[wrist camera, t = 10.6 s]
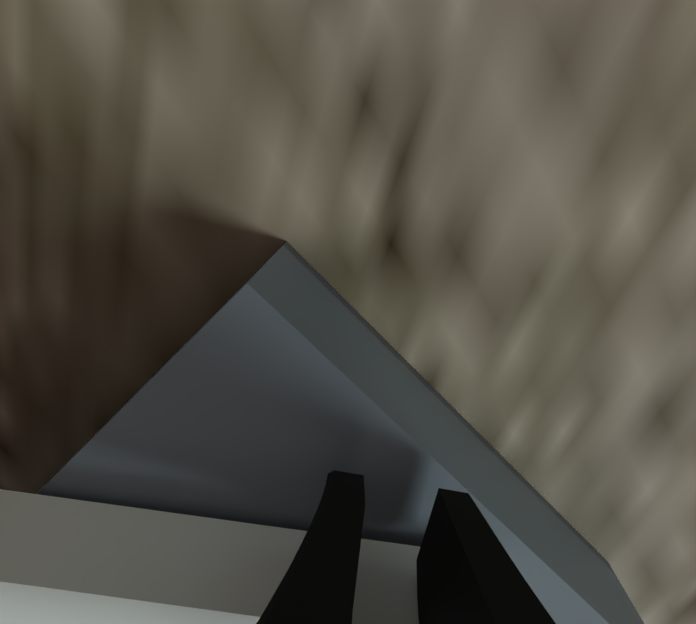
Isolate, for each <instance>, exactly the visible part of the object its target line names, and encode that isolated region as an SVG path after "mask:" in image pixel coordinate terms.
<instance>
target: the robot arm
mask: <svg viewBox="0 0 696 624" xmlns="http://www.w3.org/2000/svg"><path fill="white" fill-rule="evenodd" d="M364 512H365V487H364V475H359V474H353V473H348V472H342V471H336V470H334V471H332V472H330V473H328V475H327V481H326V485H325V489H324V492H323V495H322V498H321V501H320V503H319V506H318V509H317V511H316V513H315V516H314V518H313V520H312V523H311V525H310V527H309V529H308V531H307V533H306V535H305V537H304V539H303V541H302V543H301V545H300V547H299V549H298V551H297V553H296V555H295V557H294V559H293V561H292V563H291V565H290V567H289V569H288V570H287V572H286V574H285V576H284V577H283V579H282V581H281V583H280V584H279V586H278V588H277V590H276V591H275V593H274V595H273V596H272V598H271V600H270V602H269V603H268V605H267V607H266V609H265V610H264V612H263V614H262V615H261V617H260V618H259V620H258V622H257V623H256V624H352V614H353V605H354V596H355V588H356V579H357V571H358V562H359V554H360V546H361V537H362V529H363V520H364ZM416 563H417V596H418V618H419V624H556V623H555V622H554V620H553V619H552V617H551V616H550V615H549V613H548V612H547V610H546V609H545V607H544V606H543V605H542V603H541V602H540V600H539V599H538V597H537V596H536V595H535V593H534V592H533V590H532V589H531V587H530V586H529V584H528V583H527V582H526V580H525V579H524V577H523V576H522V574H521V573H520V571H519V570H518V568H517V567H516V565H515V564H514V562H513V561H512V559H511V558H510V556H509V555H508V553H507V552H506V550H505V549H504V547H503V546H502V544H501V542H500V541H499V539H498V538H497V536H496V535H495V533H494V532H493V530H492V529H491V527H490V525H489V524H488V522H487V521H486V519H485V518H484V516H483V515H482V513H481V511H480V510H479V508H478V507H477V505H476V504H475V502H474V501H473V499H472V498H471V496H470V495H469V493H465V492H459V491H453V490H447V489H441V488H439V489H438V492H437V495H436V499H435V502H434V505H433V508H432V511H431V515H430V518H429V521H428V524H427V528H426V531H425V534H424V537H423V540H422V544H421V547H420V550H419V553H418V556H417V560H416Z"/></svg>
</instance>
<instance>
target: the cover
mask: <svg viewBox="0 0 696 624" xmlns="http://www.w3.org/2000/svg"><path fill="white" fill-rule="evenodd" d="M306 533H307V531H303V530H295V529H288V528H281V527H273V526H266V525H259V524H252V523H244V522H237V521H230V520H222V519H215V518H208V517H200V516H193V515H186V514H178V513H171V512H164V511H156V510H149V509H142V508H134V507H127V506H120V505H112V504H105V503H98V502H90V501H83V500H76V499H68V498H61V497H54V496H46V495H39V494H32V493H25V492H17V491H10V490H3V489H0V624H256V623H257V622H258V620H259V618H260V617H261V615H262V614H263V612H264V610H265V609H266V607H267V605H268V603H269V602H270V600H271V598H272V596H273V595H274V593H275V591H276V590H277V588H278V586H279V584H280V583H281V581H282V579H283V577H284V576H285V574H286V572H287V570H288V569H289V567H290V565H291V563H292V561H293V559H294V557H295V555H296V553H297V551H298V549H299V547H300V545H301V543H302V541H303V539H304V537H305V535H306ZM419 550H420V546H413V545H405V544H398V543H391V542H383V541H376V540H369V539H361V546H360V554H359V562H358V571H357V579H356V588H355V596H354V605H353V614H352V624H419V618H418V596H417V563H416V560H417V556H418V553H419Z"/></svg>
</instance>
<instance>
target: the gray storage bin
mask: <svg viewBox="0 0 696 624" xmlns="http://www.w3.org/2000/svg"><path fill="white" fill-rule="evenodd" d="M334 470H336V471H342V472H348V473H353V474H359V475H364V487H365V512H364V520H363V529H362V537H361V539H369V540H376V541H383V542H391V543H398V544H405V545H413V546H420V547H421V544H422V540H423V537H424V534H425V531H426V528H427V524H428V521H429V518H430V515H431V511H432V508H433V505H434V502H435V499H436V495H437V492H438V489H439V488H441V489H447V490H453V491H459V492H465V493H469V495H470V496H471V498H472V499H473V501H474V502H475V504H476V505H477V507H478V508H479V510H480V511H481V513H482V515H483V516H484V518H485V519H486V521H487V522H488V524H489V525H490V527H491V529H492V530H493V532H494V533H495V535H496V536H497V538H498V539H499V541H500V542H501V544H502V546H503V547H504V549H505V550H506V552H507V553H508V555H509V556H510V558H511V559H512V561H513V562H514V564H515V565H516V567H517V568H518V570H519V571H520V573H521V574H522V576H523V577H524V579H525V580H526V582H527V583H528V584H529V586H530V587H531V589H532V590H533V592H534V593H535V595H536V596H537V597H538V599H539V600H540V602H541V603H542V605H543V606H544V607H545V609H546V610H547V612H548V613H549V615H550V616H551V617H552V619H553V620H554V622H555V623H556V624H644V623H643V621H642V619H641V618H640V616H639V614H638V612H637V611H636V609H635V607H634V606H633V604H632V602H631V600H630V599H629V597H628V595H627V594H626V592H625V590H624V588H623V587H622V585H621V583H620V582H619V580H618V578H617V576H616V575H615V573H614V571H613V570H612V568H611V566H610V564H609V563H608V562H607V561H606V560H605V559H604V558H603V557H602V556H601V555H600V554H599V553H598V552H597V551H596V550H595V549H594V548H593V547H592V546H591V545H590V544H589V543H588V542H587V541H586V540H585V539H584V538H583V537H582V536H581V535H580V534H579V533H578V532H577V531H576V530H575V529H574V528H573V527H572V526H571V525H570V524H569V523H568V522H567V521H566V520H565V519H564V518H563V517H562V516H561V515H560V514H559V513H558V512H557V511H556V510H555V509H554V508H553V507H552V506H551V505H550V504H549V503H548V502H547V501H546V500H545V499H544V498H543V497H542V496H541V495H540V494H539V493H538V492H537V491H536V490H535V489H534V488H533V487H532V486H531V485H530V484H529V483H528V482H527V481H526V480H525V479H524V478H523V477H522V476H521V475H520V474H519V473H518V472H517V471H516V470H515V469H514V468H513V467H512V466H511V465H510V464H509V463H508V462H507V461H506V460H505V459H504V458H503V457H502V456H501V455H500V454H499V453H498V452H497V451H496V450H495V449H494V448H493V447H492V446H491V445H490V444H489V443H488V442H487V441H486V440H485V439H484V438H483V437H482V436H481V435H480V434H479V433H478V432H477V431H476V430H475V429H474V428H473V427H472V426H471V425H470V424H469V423H468V422H467V421H466V420H465V419H464V418H463V417H462V416H461V415H460V414H459V413H458V412H457V411H456V410H455V409H454V408H453V407H452V406H451V405H450V404H449V403H448V402H447V401H446V400H445V399H444V398H443V397H442V396H441V395H440V394H439V393H438V392H437V391H436V390H435V389H434V388H433V387H432V386H431V385H430V384H429V383H428V382H427V381H426V380H425V379H424V378H423V377H422V376H421V375H420V374H419V373H418V372H417V371H416V370H415V369H414V368H413V367H412V366H411V365H410V364H409V363H408V362H407V361H406V360H405V359H404V358H403V357H402V356H401V355H400V354H399V353H398V352H397V351H396V350H395V349H394V348H393V347H392V346H391V345H390V344H389V343H388V342H387V341H386V340H385V339H384V338H383V337H382V336H381V335H380V334H379V333H378V332H377V331H376V330H375V329H374V328H373V327H372V326H371V325H370V324H369V323H368V322H367V321H366V320H365V319H364V318H363V317H362V316H361V315H360V314H359V313H358V312H357V311H356V310H355V309H354V308H353V307H352V306H351V305H350V304H349V303H348V302H347V301H346V300H345V299H344V298H343V297H342V296H341V295H340V294H339V293H338V292H337V291H336V290H335V289H334V288H333V287H332V286H331V285H330V284H329V283H328V282H327V281H326V280H325V279H324V278H323V277H322V276H321V275H320V274H319V273H318V272H317V271H316V270H315V269H314V268H313V267H312V266H311V265H310V264H309V263H308V262H307V261H306V260H305V259H304V258H303V257H302V256H301V255H300V254H299V253H298V252H297V251H296V250H295V249H294V248H293V247H292V246H291V245H290V244H289V243H288V242H286V243H285V244H284V245H283V246H282V247H281V248H280V249H279V250H278V251H277V252H276V253H275V254H274V255H273V256H272V257H271V258H270V259H269V260H268V261H267V262H266V263H265V264H264V265H263V266H262V267H261V268H260V269H259V270H258V271H257V272H256V273H255V274H254V275H253V276H252V277H251V278H250V279H249V280H248V281H247V282H246V283H245V284H244V285H243V286H242V287H241V288H240V289H239V290H238V291H237V292H236V293H235V294H234V295H233V296H232V297H231V298H230V299H229V300H228V301H227V302H226V303H225V304H224V305H223V306H222V307H221V308H220V309H219V310H218V311H217V312H216V313H215V314H214V315H213V316H212V317H211V318H210V319H209V320H208V321H207V322H206V323H205V324H204V325H203V326H202V327H201V328H200V329H199V330H198V331H197V332H196V333H195V334H194V335H193V336H192V337H191V338H190V339H189V340H188V341H187V342H186V343H185V344H184V345H183V346H182V347H181V348H180V349H179V350H178V351H177V352H176V353H175V354H174V355H173V356H172V357H171V358H170V359H169V360H168V361H167V362H166V363H165V364H164V365H163V366H162V367H161V368H160V369H159V370H158V371H157V372H156V373H155V374H154V375H153V376H152V377H151V378H150V379H149V380H148V381H147V382H146V383H145V384H144V385H143V386H142V387H141V388H140V389H139V390H138V391H137V392H136V393H135V394H134V395H133V396H132V397H131V398H130V399H129V400H128V401H127V402H126V403H125V404H124V405H123V406H122V407H121V408H120V410H119V411H118V412H117V413H116V414H115V415H114V416H113V417H112V418H111V419H110V420H109V421H108V422H107V423H106V424H105V425H104V426H103V427H102V428H101V429H100V430H99V431H98V432H97V433H96V434H95V435H94V436H93V437H92V438H91V439H90V440H89V441H88V442H87V443H86V444H85V445H84V446H83V447H82V448H81V449H80V450H79V451H78V452H77V453H76V454H75V455H74V456H73V457H72V458H71V459H70V460H69V461H68V462H67V463H66V464H65V465H64V466H63V467H62V468H61V469H60V470H59V471H58V472H57V473H56V474H55V475H54V476H53V477H52V478H51V479H50V480H49V481H48V482H47V483H46V484H45V485H44V486H43V487H42V488H41V489H40V490H39V491H38V492H37V493H36V494H39V495H46V496H54V497H61V498H68V499H76V500H83V501H90V502H98V503H105V504H112V505H120V506H127V507H134V508H142V509H149V510H156V511H164V512H171V513H178V514H186V515H193V516H200V517H208V518H215V519H222V520H230V521H237V522H244V523H252V524H259V525H266V526H273V527H281V528H288V529H295V530H303V531H308V529H309V527H310V525H311V523H312V520H313V518H314V516H315V513H316V511H317V509H318V506H319V503H320V501H321V498H322V495H323V492H324V489H325V485H326V481H327V475H328V473H330V472H332V471H334Z"/></svg>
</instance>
